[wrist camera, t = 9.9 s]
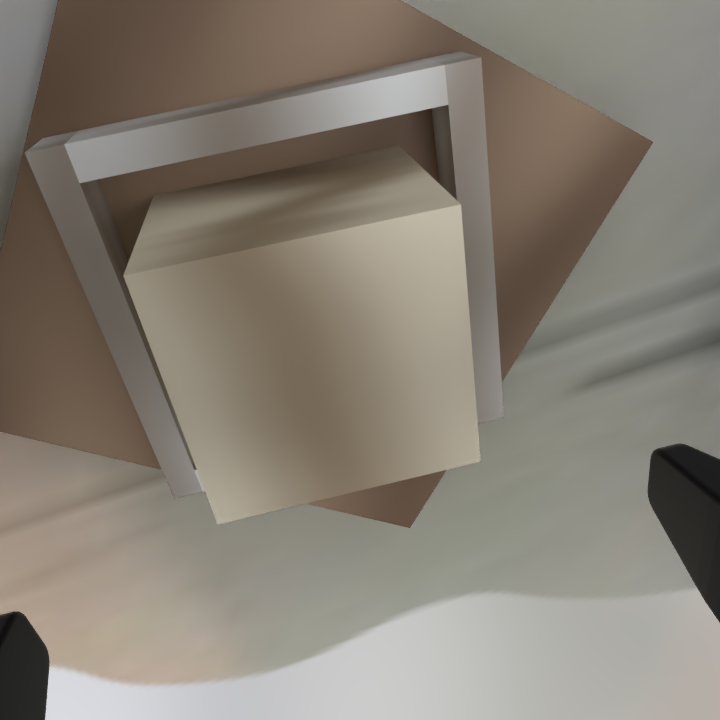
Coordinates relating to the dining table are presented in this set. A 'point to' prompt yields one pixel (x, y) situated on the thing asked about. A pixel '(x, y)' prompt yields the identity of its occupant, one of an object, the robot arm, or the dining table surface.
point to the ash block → (311, 329)
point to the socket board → (265, 154)
